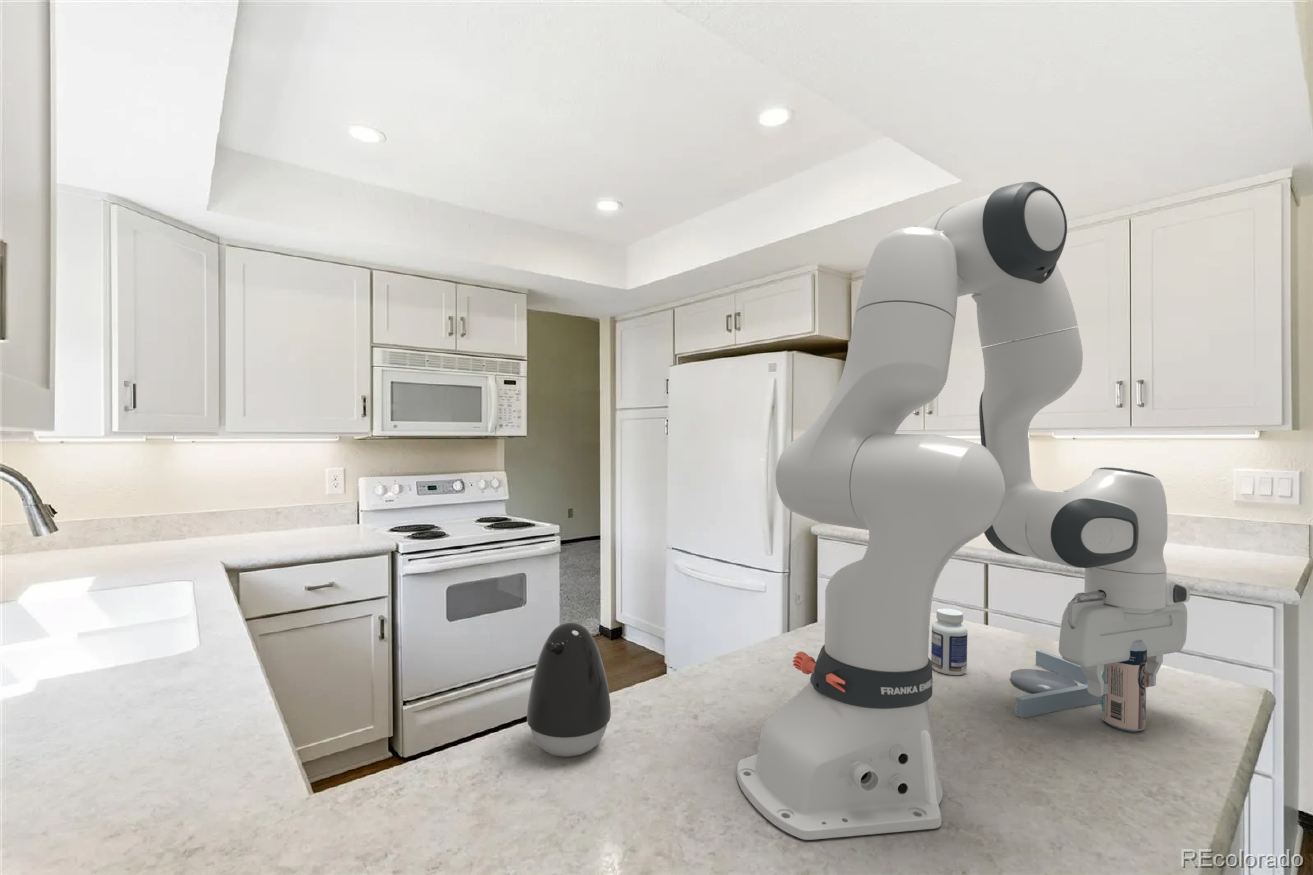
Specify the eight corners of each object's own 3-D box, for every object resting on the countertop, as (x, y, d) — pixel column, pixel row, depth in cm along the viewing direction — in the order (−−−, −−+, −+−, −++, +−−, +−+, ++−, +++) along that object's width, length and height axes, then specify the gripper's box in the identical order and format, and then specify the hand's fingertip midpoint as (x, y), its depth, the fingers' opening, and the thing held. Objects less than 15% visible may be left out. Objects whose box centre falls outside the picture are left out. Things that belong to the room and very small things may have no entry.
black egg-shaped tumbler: (509, 759, 74) (510, 631, 73) (553, 721, 83) (554, 607, 83) (586, 776, 70) (588, 642, 70) (623, 734, 80) (624, 616, 80)
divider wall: (1022, 717, 86) (1022, 699, 86) (943, 679, 99) (944, 663, 99) (1139, 695, 94) (1139, 678, 94) (1052, 662, 107) (1052, 648, 107)
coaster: (1049, 702, 91) (1049, 695, 91) (997, 678, 100) (997, 672, 100) (1092, 694, 94) (1093, 687, 94) (1038, 672, 103) (1038, 666, 103)
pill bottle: (968, 668, 104) (969, 610, 104) (964, 678, 100) (965, 618, 100) (933, 661, 107) (934, 605, 107) (928, 671, 103) (929, 612, 103)
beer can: (1153, 735, 81) (1155, 644, 81) (1112, 731, 82) (1114, 641, 82) (1133, 719, 86) (1135, 632, 86) (1094, 715, 87) (1096, 630, 87)
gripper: (1093, 600, 78) (1091, 710, 78) (1198, 588, 85) (1196, 689, 85) (1046, 588, 84) (1044, 690, 84) (1148, 577, 91) (1146, 672, 91)
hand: (1121, 690), depth 84 cm, fingers open, 8 cm apart
